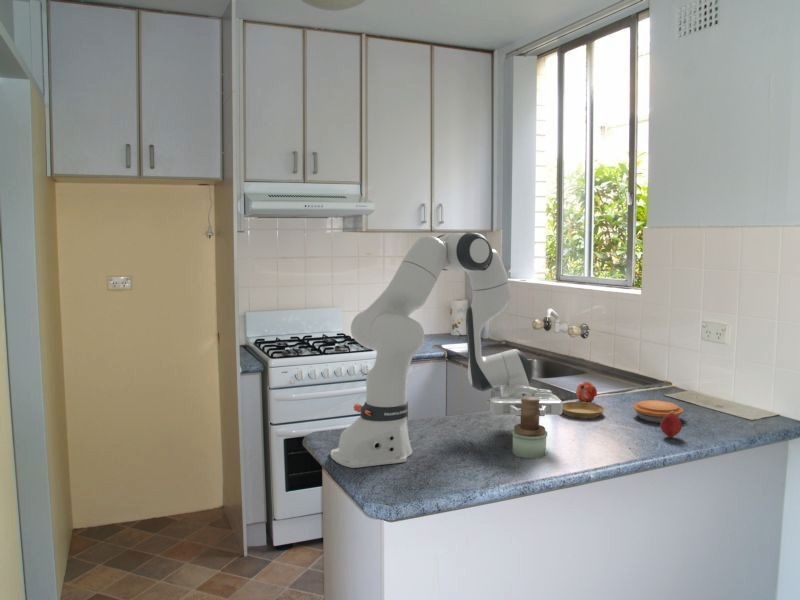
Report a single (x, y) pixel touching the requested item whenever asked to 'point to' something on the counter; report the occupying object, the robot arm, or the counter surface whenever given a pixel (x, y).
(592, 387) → the pomegranate
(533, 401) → the lid
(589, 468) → the counter surface
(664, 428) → the onion
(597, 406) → the plant saucer
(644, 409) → the pie
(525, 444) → the canister
